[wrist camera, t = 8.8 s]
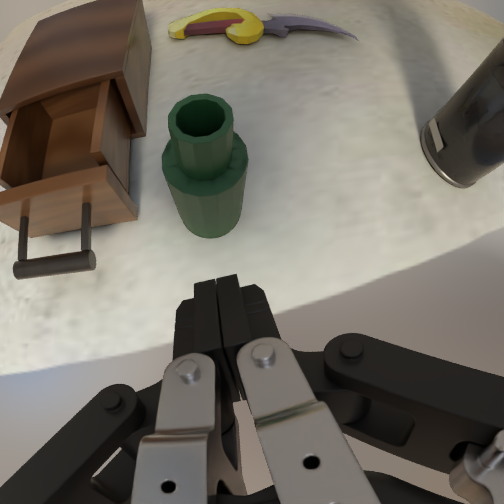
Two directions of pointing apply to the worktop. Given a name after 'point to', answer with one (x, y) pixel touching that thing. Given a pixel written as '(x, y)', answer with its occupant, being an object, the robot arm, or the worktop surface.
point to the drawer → (66, 173)
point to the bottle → (205, 165)
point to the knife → (246, 25)
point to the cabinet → (85, 57)
